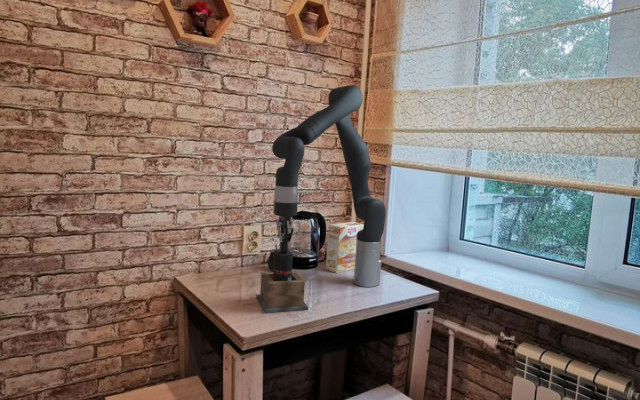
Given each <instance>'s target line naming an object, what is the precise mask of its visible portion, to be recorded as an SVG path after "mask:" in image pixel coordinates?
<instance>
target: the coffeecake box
mask: <svg viewBox="0 0 640 400" xmlns="http://www.w3.org/2000/svg"><path fill="white" fill-rule="evenodd" d="M363 227H364V223H361V222H356V221H348V222H338V223H330V224H328V232H327V248H326V260H325V261H326V262H325V263H326V264H325V269H326V270H327V271H330V272H333V273H335V274H340V273H343V272H347V271H352V270H354V269H355V255H356V240H357V232H358V231H360V230H363Z"/></svg>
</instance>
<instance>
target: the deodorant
mask: <svg viewBox="0 0 640 400" xmlns="http://www.w3.org/2000/svg"><path fill="white" fill-rule="evenodd" d="M293 256H294V255H293V252H291V251H290V250H289V251H287V254H281V253H280V251H276V252H274V271H272V272H273V281H291V279H292V271H293Z"/></svg>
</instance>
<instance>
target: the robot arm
mask: <svg viewBox="0 0 640 400" xmlns="http://www.w3.org/2000/svg"><path fill="white" fill-rule="evenodd" d="M327 100H328V101H327V102H328V106H326V107H325V108H323V109H321V110H319V111H317V112H315V113H313V114H311V115H310V116H308V117H307V118H305V119H304V120H303V121H302V122H300V123H299V124H298V125H297V126H296V127H294V128H292V129H289V130H287V131H286V132H284V133H282V134H280V135H279V136H278V137H277V138H276V139H275V140H274V141H273V142H272V143H273V144H272V145H271V146H272V148H271V150H272V154H273V155H274V156H275V158H279V159H281V160H282V159H283V160H285V161H284V163H283V166H280V167H278V168H276V172H275V186H274V192H273V193H274V195H273V215H275V216H277V217H278V219H277V221H276V229H277V231H276V232H277V237H278V240H279V250H280V253H281V254H287V251H288V248H289V247H288V245H289V242H291V240H292V237H293V234H294V227H293V221H292V217H295V216H297V215H298V204H299V203H298V201H299V189H298V188H299V186H298V184H299V183H298V182H299V173H300V169H301V166H302V163H303V160H304V156H305V146H309V145H310V144H312V143H313V142H314V141H315V140H317V139H318V138H319V137H320V136H322V135H323V134H324V133H325V132H326V131H327V130H329V128H331V127H332V126H334V125H335V128H336V130H337V131H336V132H337V134H338V139H339V142H340V145H341V150H342V155H343V159H344V163H345V166H346V170H347V176H348V180H349V183H350V188H351V194H352V202H353V211H354V213H355V216H356V217H357V218H358V219H359V220H360V221H363V224H364V227H363V230H360V231H358V232H357V240H356V255H355V269H353V270H354V271H353V272H354V273H353V284H354V285H356V286H359V287H364V288H372V287H373V288H374V287H377V286H379V285H380V284H381V272H382V271H381V268H382V261H381V259H380V257H381V256H380V255H381V240H382V236H383V234H384V231H385V223H386V215H387V211H386V206H385V203H384V202H383V201H382V200H380V199H376V198H373V197H372V196H371V192H370V188H369V177H370V172H371V166H372V162H371V156H370V152H369V148H368V145H367V143H366V141H365V140H364V139H363V137H362V136H361V135H360V133H359V132H358V131H357V129H356V128H355V127H354V124H353V123H352V122H353V121H352V119H351V114H353V113H355V112H357V111H358V110H359V109H361V107H362V105H363V100H364V96H363V93H362V90H361V89H360V87H358V86H357V85H351V84H350V85H345V86H344V85H343V86H339V87H335V88H332V89H331V90H330V91H329V93H328V98H327Z"/></svg>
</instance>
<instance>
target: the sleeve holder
mask: <svg viewBox="0 0 640 400" xmlns="http://www.w3.org/2000/svg"><path fill="white" fill-rule="evenodd" d="M273 272H274V271H268V272H265V271H264V272H260V294H256V295H255V298H256V300H257V302H258V304H259V306H260V308H261V309H262V311H263V313H264V314H276V313H288V312H301V311H308V310H309V307H308V305H307V304H306V302H305V301H304V300H305V280H304V279H303V278H302V277H301V276H300V274H298V273H297V272H296V271H295V270H292V279H291V281H273Z"/></svg>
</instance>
